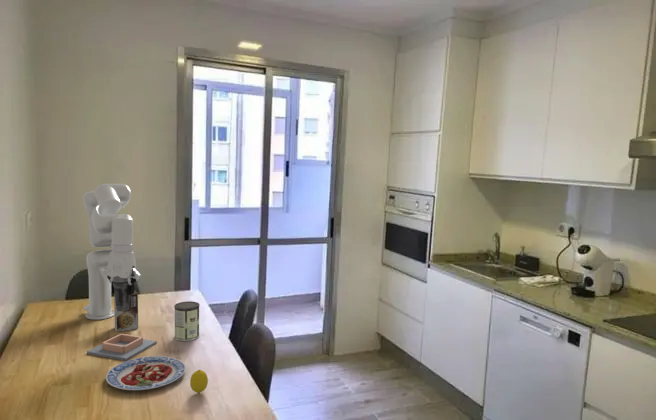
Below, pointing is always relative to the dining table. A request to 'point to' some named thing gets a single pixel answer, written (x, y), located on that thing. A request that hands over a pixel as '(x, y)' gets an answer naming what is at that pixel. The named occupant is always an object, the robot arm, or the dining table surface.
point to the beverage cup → (121, 293)
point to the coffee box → (127, 315)
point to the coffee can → (186, 321)
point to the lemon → (198, 381)
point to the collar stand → (122, 347)
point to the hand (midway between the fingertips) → (122, 292)
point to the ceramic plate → (145, 373)
